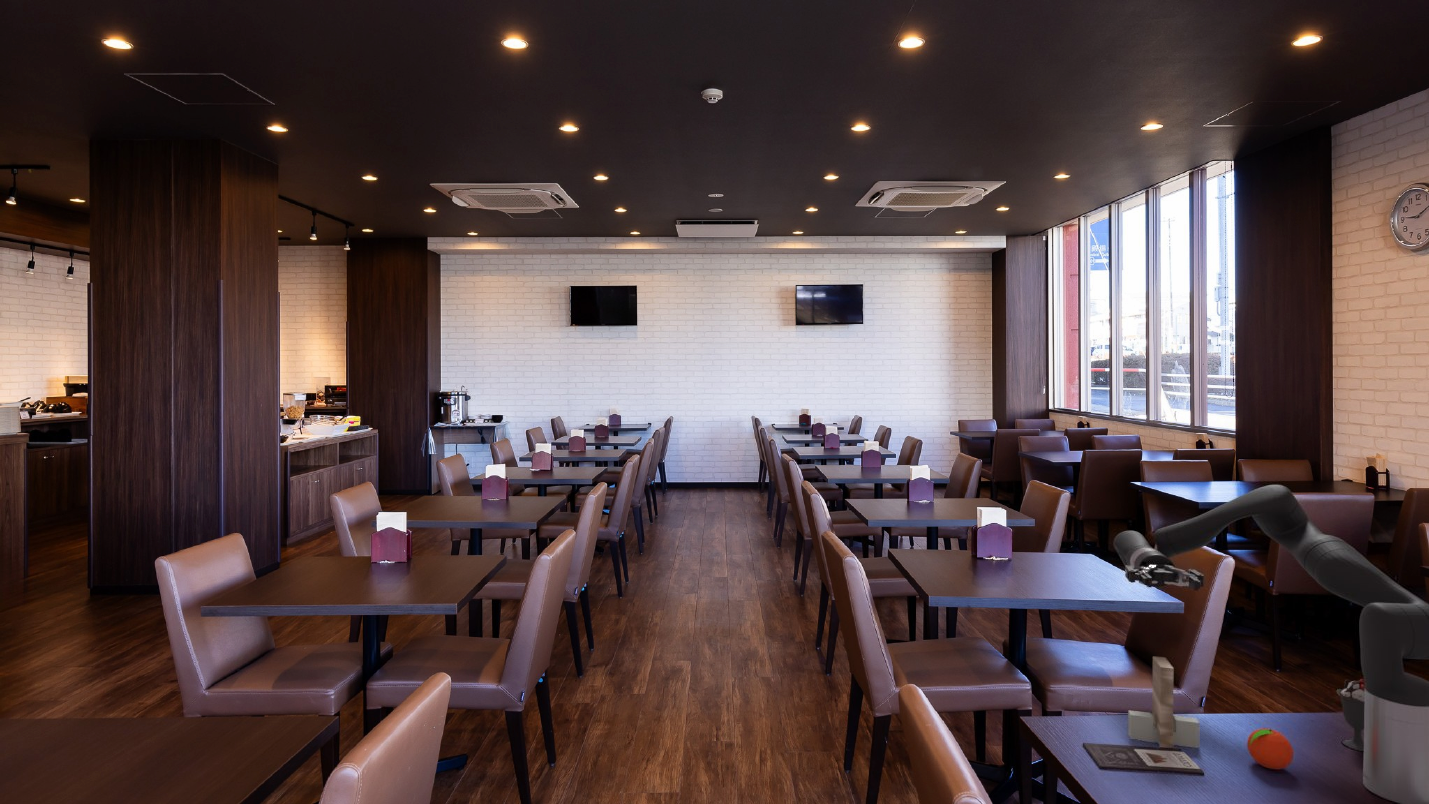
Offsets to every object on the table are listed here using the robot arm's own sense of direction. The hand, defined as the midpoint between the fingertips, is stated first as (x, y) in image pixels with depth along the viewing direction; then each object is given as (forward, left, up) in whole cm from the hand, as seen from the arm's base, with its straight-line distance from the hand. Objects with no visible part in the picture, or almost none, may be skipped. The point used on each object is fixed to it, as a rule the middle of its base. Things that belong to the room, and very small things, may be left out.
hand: (1173, 584), depth 154 cm
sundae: (-32, 0, -30) cm, 44 cm away
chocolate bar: (+10, +18, -30) cm, 37 cm away
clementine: (-12, +14, -30) cm, 35 cm away
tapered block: (+4, +9, -30) cm, 31 cm away
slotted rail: (+4, +9, -30) cm, 31 cm away
